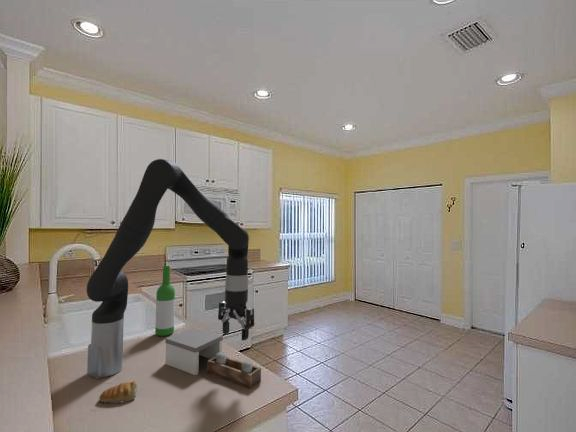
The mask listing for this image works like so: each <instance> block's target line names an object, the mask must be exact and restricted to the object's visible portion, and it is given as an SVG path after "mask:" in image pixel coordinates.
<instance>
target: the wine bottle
mask: <svg viewBox="0 0 576 432" xmlns="http://www.w3.org/2000/svg"><path fill="white" fill-rule="evenodd" d="M170 281H171V266H170V265H163V266H162V284H161V285H159V286H158V288H157V290H156V294H155V296H156V298H155V324H154V325H155V327H154V329H155V335H156V336H158V337H169V336H171V335H172V334H173V333H174V332H175V331H174V330H175V306H176V305H175V304H176V303H175V302H176V300H175V299H176V290H175V288H174V286H173V285H172V284H171V283H170Z"/></svg>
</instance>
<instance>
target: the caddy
mask: <svg viewBox="0 0 576 432" xmlns="http://www.w3.org/2000/svg"><path fill="white" fill-rule="evenodd" d="M206 370H207V371H206V373H207V374H210V375H212V376H213V377H217V378H220V379H223V380H225V381H228V382H231V383H234V384H237V385H239V386H241V387H244V388H248V389H252V388H253V387H255V386H256V385H257V384H258V383H259V382H261V381H262V368H261V367H258V366H256V365H253V361H252V360H250V359H247V360H243V361H240V360H237V359H234V358H231V357H227V353H226V352H224V351H222V352H219V353H217V354H216V357H214V358H212V359H208V360H207V367H206Z"/></svg>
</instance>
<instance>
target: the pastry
mask: <svg viewBox="0 0 576 432" xmlns="http://www.w3.org/2000/svg"><path fill="white" fill-rule="evenodd" d="M137 391H138V385H137V381H136V380H133V381H128V382H127V381H126V382H121V383H119V384H117V385H115V386H111V387H109V388H108V389H106V390H104V391H103V392H102V393H101V394H100V395H99V397H98V399H99V400H100V402H101V403H103V402H104V403H103V404H107V403H106V402H109V403H108V404H117V403H116V402H120V403H122V402H121V401H126V402H129V401H128V400H131V401H134V400H135V399H136V397H137ZM134 398H135V399H134ZM133 399H134V400H133Z"/></svg>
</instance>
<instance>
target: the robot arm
mask: <svg viewBox="0 0 576 432" xmlns="http://www.w3.org/2000/svg"><path fill="white" fill-rule="evenodd" d="M167 190H170V191H172V192H173V193H175V194H176V195H177V196H179V197H180V198H181V199H182V200H183V201H184V202H185V203H186V204H187V205H188V206H189V208H190V210H192V212H193V213H194V215H196V217H197V218H198V219H200V221H202V222H203V223H204V224H205V225H206V226H207V227H209V229H210V230H212V232H215V233H216V234H217V235H218V236H219V238H221V240H223V242H224V243H226V245H227V248H228V249H227V250H228V253H227V254H228V255H227V260H226V273H225V274H226V275H225V281H224V282H225V284H224V286H225V287H224V301H221V302H219V303H218V315H217V320H218V321H221V323H222V334H223V335H227V334H230V320H231V319H234V320H236V321H237V323H239V324H240V325H241V341H246V340H248V338H249V336H250V335H249V333H250V332H249V331H250V328H253V327H254V326H255V309H254V307H251V308H248V307H247V303H248V300H249V299H248V298H249V297H248V296H249V293H248V292H249V276H248V273H249V261H248V259H249V258H248V253H249V243H250V242H249V241H250V235H249V232H248V231H247V230H246V229H244V228H243V227H241V226H240V225H238V224H237V223H236V222H235V221H234V220H232V219H231V218H230V216H229V215H228V214H227V213H226V212H225V211H224V210H223V209H222V208H221V207H219V206H218V205H217V204H216V203H215V202H214V201H212V199H210V198H209V197H208V196H206V194H205V193H203V192H202V191H201V190H200V189H199V188H198V187H197V186H196V185H195V183H193V182H192V180H191V179H190V178H189V177H188V176H187V174H186V173H185V172H184V171H183V169H182V168H181V167H180V166H179V165H178V164H177V163H176V162H174V161H172V160H169V159H164V158H157V159H155V160H153V161H151V162H149V164H148V165H147V167H146V169H145V170H144V174H143V176H142V179H141V181H140V185H139V187H138V190H137V192H136V195H135V197H134V198H133V200H132V202H131V204H130V206H129V207H128V209H127V211H126V213H125V216H124V217H123V219H122V221H121V223H120V224H119V227H117V230H116V232H115V235H114V237H113V239H112V241H111V243H110V244H109V245H108V248H107V250H106V252H105V254H104V256H103V257H102V259H101V261H100V262H99V264H98V265H97V266H96V268H95V270H94V271H93V272H92V274H91V276H90V278H89V279H88V281H87V284H86V294H87V297H88V299H89V300H91V301H93V302H96V303H97V302H98V303H99V302H101V304H100V305H99V306H98V307H97V308H96V309H95V310H94V311H93V312H92V315H91V331H90V332H91V333H90V335H91V337H90V344H88V345H87V362H86V363H87V364H86V365H87V368H86V369H87V370H86V374H87V375H88V376H90V377H92V378H94V379H96V380H99V379H101V378H105V377H106V378H107V377H111V376H113V375H116V374H118V373H119V372H121V370H122V369H123V357H124V353H123V352H124V327H125V326H124V321H125V318H124V317H125V312H126V309H127V305H128V296H129V295H128V294H129V280H128V277H127V275H126V273H125V272H124V271H123V270H122V269H123V268H124V266H125V265H126V264H127V263H128V262H129V261H130V260H131V259H132V258H134V256H136V254H137V253H138V252H140V250H141V249H142V248H143V247H144V246H145V244H146V242H147V241H148V239H149V237H150V235H151V233H152V232H153V231H152V230H153V228H154V226H155V220H156V214H157V210H158V207H159V204H160V202H161V200H162V198H163V196H164V195H165V193H167Z"/></svg>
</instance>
